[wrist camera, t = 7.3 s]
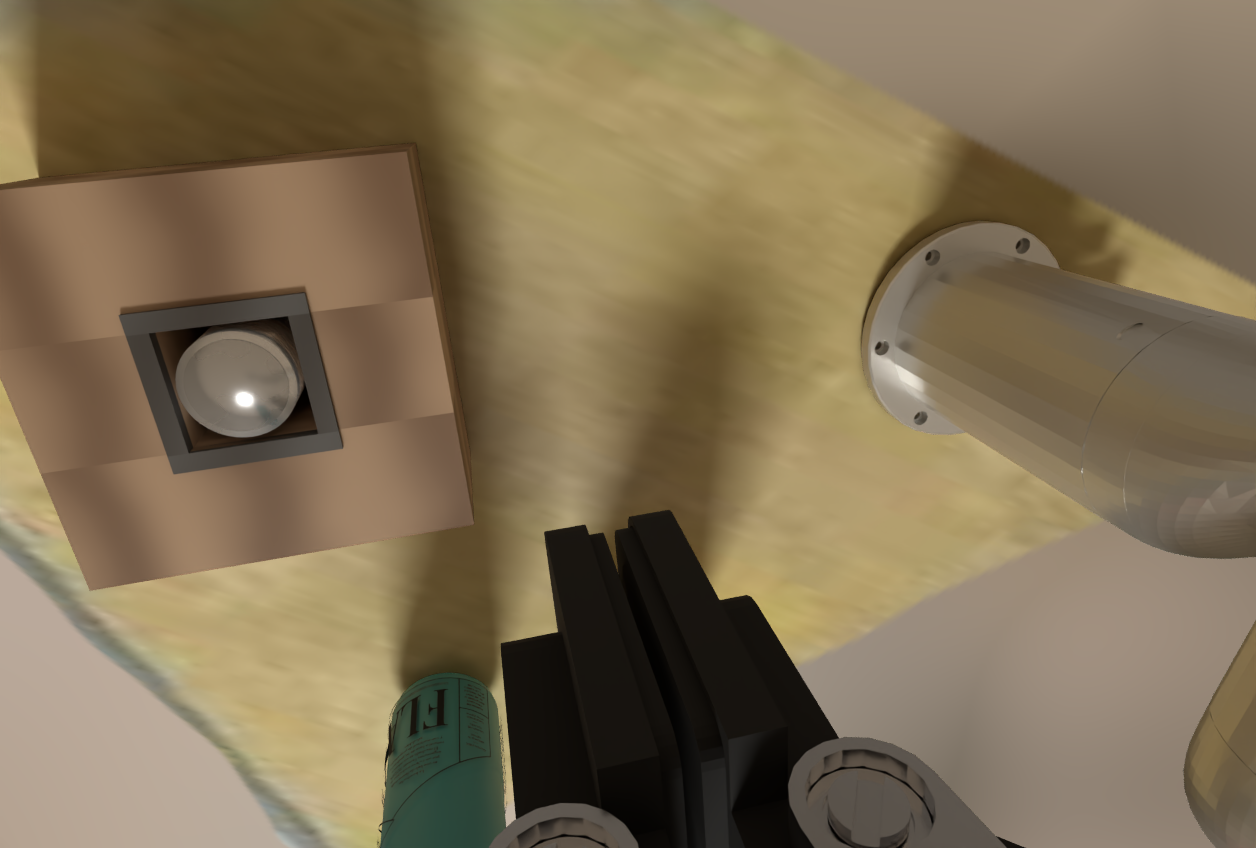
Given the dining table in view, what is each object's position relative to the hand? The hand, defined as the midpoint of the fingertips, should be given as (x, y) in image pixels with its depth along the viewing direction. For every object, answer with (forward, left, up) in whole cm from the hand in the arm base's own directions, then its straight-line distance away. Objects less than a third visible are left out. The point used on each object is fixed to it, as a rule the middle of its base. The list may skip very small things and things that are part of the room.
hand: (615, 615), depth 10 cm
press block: (+11, +3, -31) cm, 33 cm away
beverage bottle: (+7, +27, -31) cm, 42 cm away
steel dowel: (+11, +3, -31) cm, 33 cm away
